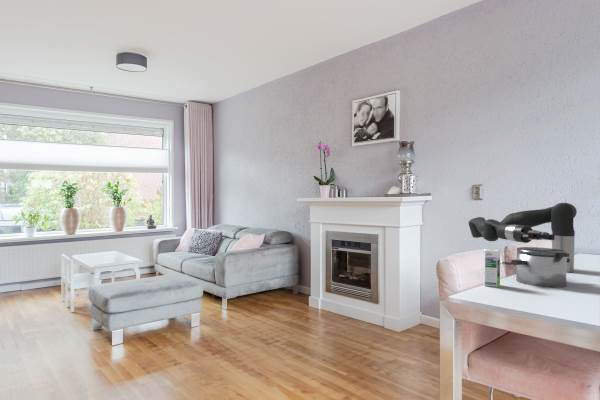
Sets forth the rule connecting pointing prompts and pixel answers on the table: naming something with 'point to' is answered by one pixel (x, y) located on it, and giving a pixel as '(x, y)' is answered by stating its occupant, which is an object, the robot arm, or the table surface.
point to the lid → (542, 251)
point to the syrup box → (492, 267)
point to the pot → (541, 270)
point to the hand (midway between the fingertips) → (553, 237)
